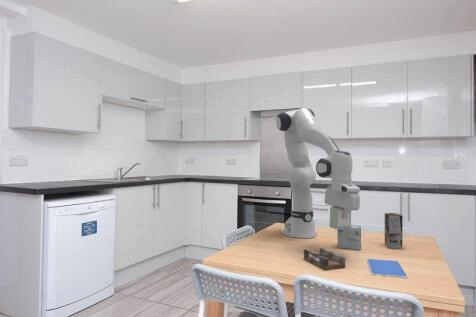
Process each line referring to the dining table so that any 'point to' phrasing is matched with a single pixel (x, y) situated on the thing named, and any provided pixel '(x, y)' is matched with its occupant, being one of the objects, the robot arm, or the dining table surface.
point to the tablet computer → (386, 268)
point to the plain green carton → (339, 218)
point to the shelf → (325, 259)
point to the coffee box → (393, 230)
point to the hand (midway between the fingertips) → (340, 217)
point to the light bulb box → (349, 237)
